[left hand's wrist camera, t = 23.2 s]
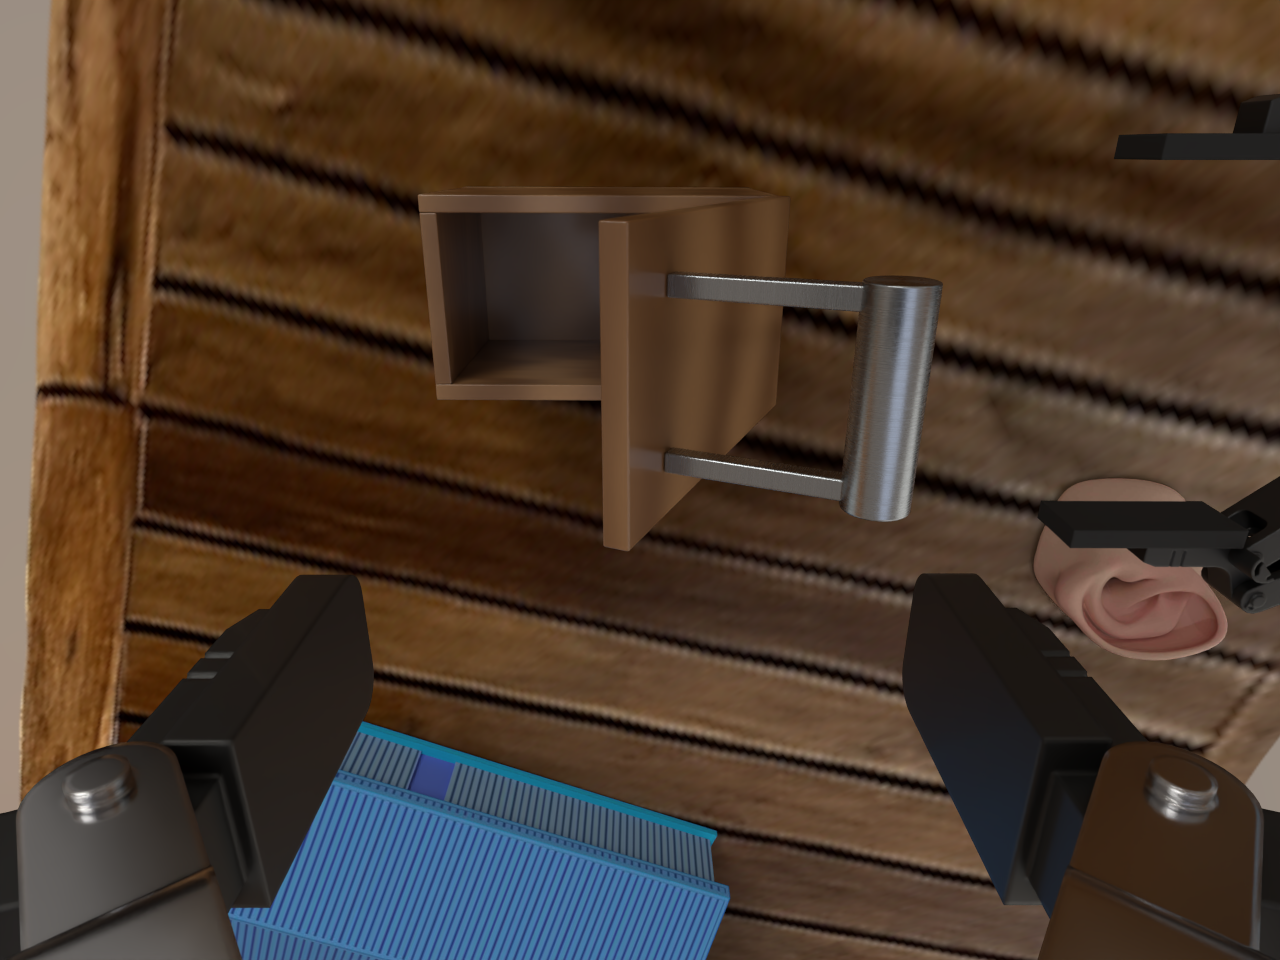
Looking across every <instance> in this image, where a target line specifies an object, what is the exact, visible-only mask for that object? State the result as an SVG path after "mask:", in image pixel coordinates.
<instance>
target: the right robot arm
mask: <svg viewBox="0 0 1280 960" xmlns="http://www.w3.org/2000/svg"><path fill="white" fill-rule="evenodd" d="M1114 159H1146V160H1280V94H1275V95H1263V96H1257V97H1254V98H1252V99H1249V100H1247V101H1244V102H1242V103H1241V104H1240V108H1239V112H1238V116H1237V119H1236V123H1235V127H1234V131H1233V133H1186V134H1137V135H1119V138H1118V143H1117V147H1116V152H1115V157H1114ZM1038 518H1039V519H1040V520H1041V521H1042V522H1043V523H1044V524H1045V525H1046V526H1047V527H1048V528H1049V529H1050V530H1051V531H1052V532H1053V533H1054V534H1056V535H1057V536H1058V537H1059V538H1060V539H1061V540H1062V541H1063V542H1064V543H1065V544H1066V545H1067V546H1068V547H1069V548H1127V549H1128V550H1129V551H1130V552H1131V553H1133V554H1134V555H1135V556H1136V557H1138V558H1139V559H1140V560H1141V561H1142V562H1144V563H1146V564H1149V565H1151V566H1154V567H1169V566H1170V567H1179V566H1180V567H1203V568H1202V570H1201V576H1202V578H1203V580H1204V581H1206V582H1207V583H1208V584H1210V585H1211V586H1212V587H1213V588H1215V589H1216V590H1217V591H1219V592H1220V593H1221V594H1222V595H1224V596H1225V597H1226V598H1228V599H1229V600H1230V601H1232V602H1233V603H1234V604H1236V605H1237V606H1238V607H1239V608H1241V609H1242V610H1243V611H1245V612H1247V613H1258V612H1261V611H1264V610H1267V609H1269V608H1272V607H1275V606H1278V605H1280V476H1279V477H1278V478H1276V479H1275V480H1273V481H1271V482H1270V483H1268V484H1266V485H1265V486H1263V487H1262V488H1260V489H1258V490H1257V491H1255V492H1253V493H1252V494H1250V495H1249V496H1247V497H1245V498H1244V499H1242V500H1240V501H1239V502H1237V503H1236V504H1234V505H1232V506H1231V507H1229V508H1227V509H1226V510H1224V511H1223V512H1221V513H1220V512H1218V511H1217V510H1215V509H1213V508H1212V507H1210V506H1209V505H1207V504H1206V503H1204V502H1202V501H1041V504H1040V508H1039V513H1038ZM1248 536H1251V537H1248Z"/></svg>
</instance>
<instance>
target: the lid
mask: <svg viewBox="0 0 1280 960" xmlns="http://www.w3.org/2000/svg"><path fill="white" fill-rule="evenodd" d="M789 212H790V197H789V196H769V197H762V198H755V199H747V200H740V201H733V202H726V203H718V204H711V205H704V206H697V207H689V208H682V209H675V210H668V211H660V212H653V213H646V214H639V215H631V216H624V217H617V218H610V219H602V220H599V285H600V350H601V415H602V480H603V544H604V546H605V547H609V548H614V549H619V550H623V551H630V550H631V549H632V548H633V547H634V546H635V545H636V544H637V543H638V542H639V541H640V540H641V539H642V538H643V537H644V536H645V535H646V534H647V533H648V532H649V531H650V530H651V529H652V528H653V527H654V526H655V525H656V524H657V523H658V522H659V521H660V520H661V519H662V518H663V517H664V516H665V515H666V514H667V513H668V512H669V511H670V510H671V509H672V508H673V507H674V506H675V505H676V504H677V503H678V502H679V501H680V500H681V499H682V498H683V497H684V496H685V495H686V494H687V493H688V492H689V491H690V490H691V489H692V488H693V487H694V486H695V485H696V484H697V483H698V482H699V481H700V480H701V479H702V478H703V479H709V480H715V481H721V482H727V483H733V484H740V485H746V486H752V487H758V488H764V489H770V490H776V491H782V492H788V493H795V494H801V495H807V496H813V497H819V498H825V499H831V500H837V501H839V505H840V507H841V509H842V510H844V511H845V512H846V513H848V514H850V515H852V516H855V517H858V518H861V519H866V520H871V521H896V520H900V519H903V518H905V517H906V516H908V515H909V513H910V509H911V502H912V496H913V489H914V482H915V475H916V468H917V461H918V454H919V447H920V440H921V433H922V426H923V419H924V412H925V405H926V398H927V391H928V384H929V377H930V370H931V364H932V357H933V350H934V343H935V336H936V329H937V322H938V315H939V308H940V301H941V294H942V287H943V284H942V282H940V281H938V280H935V279H929V278H922V277H912V276H874V277H868V278H865V279H864V280H863V282H846V281H829V280H813V279H796V278H785V269H786V255H787V241H788V226H789ZM783 306H789V307H802V308H816V309H829V310H843V311H857V312H859V320H858V329H857V338H856V348H855V357H854V366H853V376H852V385H851V395H850V404H849V413H848V423H847V432H846V442H845V451H844V460H843V470H842V473H841V472H834V471H828V470H821V469H814V468H808V467H801V466H794V465H788V464H781V463H774V462H768V461H761V460H755V459H748V458H741V457H735V456H728V455H726V454H727V453H728V452H729V451H730V450H731V449H732V448H733V447H734V446H735V445H736V444H737V443H738V442H739V441H740V440H741V439H742V438H743V437H744V436H745V435H746V434H747V433H748V432H749V431H750V430H751V429H752V428H753V427H754V426H755V425H756V424H757V423H758V422H759V421H760V420H761V419H762V418H763V417H764V416H765V415H766V414H767V413H768V412H769V411H770V410H771V409H772V408H773V407H774V406H775V405H776V397H777V383H778V368H779V354H780V340H781V326H782V312H783Z"/></svg>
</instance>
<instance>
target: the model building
mask: <svg viewBox="0 0 1280 960" xmlns="http://www.w3.org/2000/svg"><path fill="white" fill-rule="evenodd" d="M716 837H717V831H715V830H712V829H709V828H706V827H702V826H699V825H696V824H693V823H690V822H686V821H683V820H680V819H677V818H673V817H670V816H667V815H664V814H660V813H657V812H654V811H651V810H648V809H644V808H641V807H638V806H635V805H631V804H628V803H625V802H622V801H618V800H615V799H612V798H609V797H606V796H602V795H599V794H596V793H593V792H589V791H586V790H583V789H580V788H577V787H573V786H570V785H567V784H564V783H560V782H557V781H554V780H551V779H547V778H544V777H541V776H538V775H535V774H531V773H528V772H525V771H522V770H518V769H515V768H512V767H509V766H505V765H502V764H499V763H496V762H493V761H489V760H486V759H483V758H480V757H476V756H473V755H470V754H467V753H463V752H460V751H457V750H454V749H451V748H447V747H444V746H441V745H438V744H434V743H431V742H428V741H425V740H421V739H418V738H415V737H412V736H409V735H405V734H402V733H399V732H396V731H392V730H389V729H386V728H383V727H379V726H376V725H373V724H370V723H367V722H363V721H362V723H361V725H360V728H359V730H358V732H357V734H356V736H355V738H354V740H353V742H352V744H351V746H350V748H349V750H348V752H347V754H346V756H345V758H344V760H343V762H342V764H341V766H340V768H339V770H338V772H337V774H336V776H335V778H334V780H333V782H332V784H331V786H330V788H329V790H328V792H327V794H326V796H325V798H324V800H323V802H322V804H321V806H320V808H319V810H318V812H317V814H316V816H315V818H314V820H313V822H312V825H311V827H310V829H309V831H308V833H307V835H306V837H305V839H304V841H303V843H302V845H301V847H300V849H299V851H298V853H297V855H296V857H295V859H294V861H293V863H292V865H291V867H290V869H289V871H288V873H287V875H286V877H285V879H284V881H283V883H282V885H281V887H280V889H279V891H278V893H277V895H276V897H275V899H274V901H273V903H272V905H271V907H270V908H231V909H230V911H229V913H228V915H229V919H230V922H231V925H232V928H233V931H234V934H235V938H236V941H237V944H238V947H239V950H240V954H241V957H242V960H706V958H707V955H708V953H709V950H710V948H711V945H712V943H713V940H714V938H715V935H716V933H717V930H718V928H719V925H720V923H721V920H722V918H723V915H724V913H725V910H726V907H727V905H728V902H729V900H730V892H729V886H727V885H724V884H720V883H717V882H714V874H713V865H712V855H711V845H712V844H713V842H714V840H715V839H716Z"/></svg>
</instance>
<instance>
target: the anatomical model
mask: <svg viewBox="0 0 1280 960" xmlns="http://www.w3.org/2000/svg"><path fill="white" fill-rule="evenodd" d="M1058 501H1185V499H1184V498H1183V497H1182V496H1181V495H1180V494H1179V493H1178V492H1176V491H1175V490H1173V489H1172V488H1170V487H1168V486H1165V485H1163V484H1160V483H1156V482H1152V481H1146V480H1139V479H1124V478H1110V479H1095V480H1088V481H1083V482H1080V483H1077V484H1075V485H1073V486H1071V487H1070V488H1068V489H1067V490H1066V491H1065V492H1064V493H1063V494H1062V495H1061V496H1060V498H1059V499H1058ZM1033 566H1034V573H1035V576H1036V578H1037V580H1038V582H1039V583H1040V585H1041V586H1042V588H1043V589H1044V590H1045V592H1046V593H1047V594H1048V595H1049V596H1050V598H1051V599H1052V600H1053V601H1054V602H1055V603H1056V605H1057V606H1058V607H1059V608H1060V609H1061V610H1062V611H1063V612H1064V613H1065V614H1066V615H1068V616H1069V617H1070V618H1071V619H1072V620H1073V621H1074V622H1075V623H1076V625H1077V626H1078V627H1079V628H1080V629H1081V630H1082V631H1083V633H1084V634H1086V635H1087V636H1088V637H1089V638H1090V639H1091V640H1092V641H1093V642H1094V643H1096V644H1097V645H1099V646H1100V647H1102V648H1103V649H1105V650H1107V651H1109V652H1112V653H1114V654H1117V655H1120V656H1124V657H1129V658H1134V659H1142V660H1168V659H1176V658H1181V657H1185V656H1189V655H1193V654H1197V653H1200V652H1203V651H1205V650H1208V649H1210V648H1212V647H1214V646H1216V645H1217V644H1218V643H1220V642H1221V641H1222V640H1223V638H1224V637H1225V635H1226V632H1227V619H1226V615H1225V613H1224V610H1223V608H1222V606H1221V604H1220V602H1219V600H1218V598H1217V597H1216V595H1215V594H1214V592H1213V591H1212V590H1211V588H1210V587H1209V586H1208V584H1207V583H1206V582H1205V581H1204V580H1203V578H1202V576H1201V570H1202V568H1203V567H1180V566H1179V567H1170V566H1169V567H1154V566H1151V565H1149V564H1146V563H1144V562H1142V561H1141V560H1140V559H1139V558H1138V557H1136V556H1135V555H1134V554H1133V553H1131V552H1130V551H1129V550H1128V549H1127V548H1069V547H1068V546H1067V545H1066V544H1065V543H1064V542H1063V541H1062V540H1061V539H1060V538H1059V537H1058V536H1057V535H1056V534H1054V533H1053V532H1052V531H1051V530H1050V529H1049V528H1048V527H1047V526H1046V525H1045V527H1044V529H1043V531H1042V533H1041V536H1040V539H1039V542H1038V546H1037V550H1036V553H1035V557H1034V565H1033Z"/></svg>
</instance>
